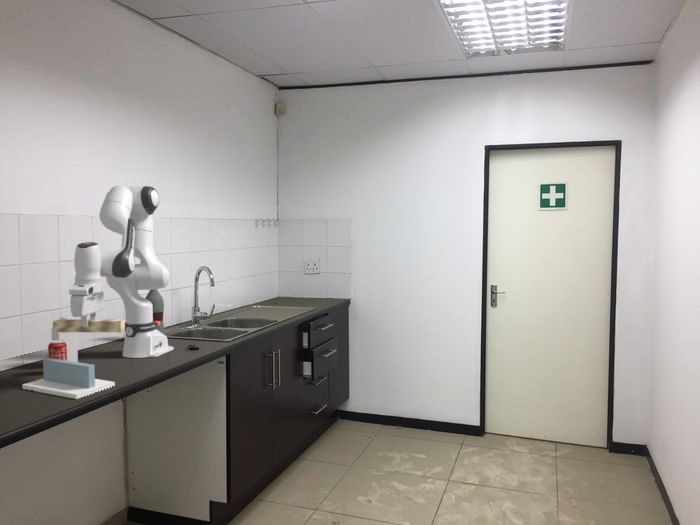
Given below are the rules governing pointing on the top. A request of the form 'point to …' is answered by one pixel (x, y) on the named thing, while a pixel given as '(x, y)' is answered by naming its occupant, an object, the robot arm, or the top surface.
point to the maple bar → (89, 325)
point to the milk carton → (68, 342)
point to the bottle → (157, 308)
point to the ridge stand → (68, 379)
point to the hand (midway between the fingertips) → (89, 325)
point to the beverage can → (57, 350)
